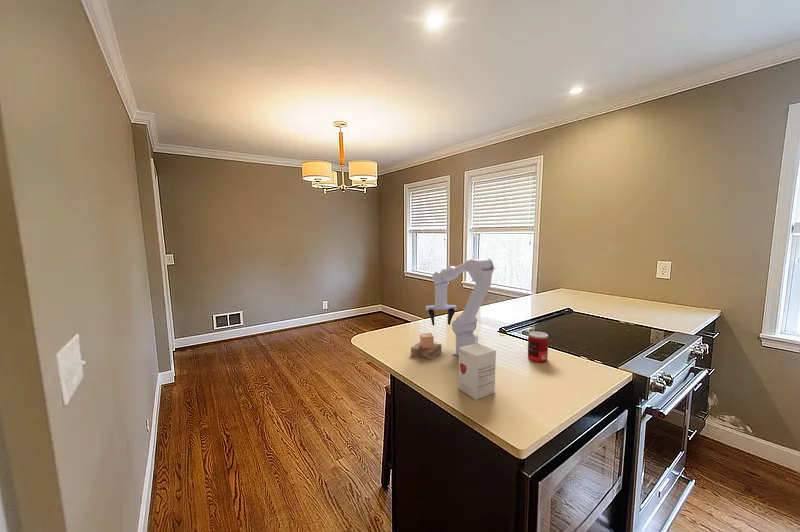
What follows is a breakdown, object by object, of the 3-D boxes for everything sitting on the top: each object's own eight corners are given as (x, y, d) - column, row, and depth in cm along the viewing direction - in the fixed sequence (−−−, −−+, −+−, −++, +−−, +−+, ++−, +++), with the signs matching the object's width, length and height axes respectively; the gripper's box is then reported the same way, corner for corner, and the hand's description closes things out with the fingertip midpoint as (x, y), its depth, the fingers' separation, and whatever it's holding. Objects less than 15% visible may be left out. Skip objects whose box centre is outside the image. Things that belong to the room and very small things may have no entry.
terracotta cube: (431, 343, 147) (431, 333, 146) (433, 347, 142) (433, 336, 141) (420, 344, 146) (420, 333, 146) (422, 348, 141) (422, 337, 141)
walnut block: (441, 353, 146) (441, 344, 146) (431, 360, 138) (431, 351, 137) (421, 349, 151) (421, 340, 151) (411, 356, 143) (411, 347, 142)
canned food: (547, 357, 138) (548, 332, 137) (547, 364, 131) (548, 338, 130) (528, 354, 142) (529, 330, 140) (527, 361, 135) (527, 335, 133)
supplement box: (457, 389, 112) (457, 347, 111) (476, 382, 117) (477, 342, 115) (475, 400, 104) (476, 355, 103) (495, 393, 109) (496, 350, 107)
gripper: (454, 294, 159) (454, 321, 161) (424, 295, 158) (424, 322, 159) (457, 297, 152) (457, 325, 154) (427, 298, 151) (427, 326, 152)
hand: (441, 324), depth 156 cm, fingers open, 7 cm apart
